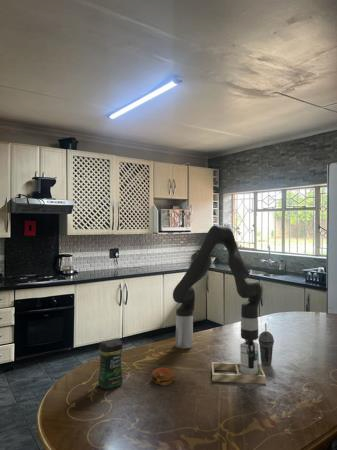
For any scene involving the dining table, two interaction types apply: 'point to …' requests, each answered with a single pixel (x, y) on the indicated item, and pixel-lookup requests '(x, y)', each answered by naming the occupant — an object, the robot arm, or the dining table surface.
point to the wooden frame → (237, 376)
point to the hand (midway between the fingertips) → (249, 364)
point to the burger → (163, 376)
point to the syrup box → (244, 360)
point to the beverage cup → (266, 347)
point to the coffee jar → (110, 363)
